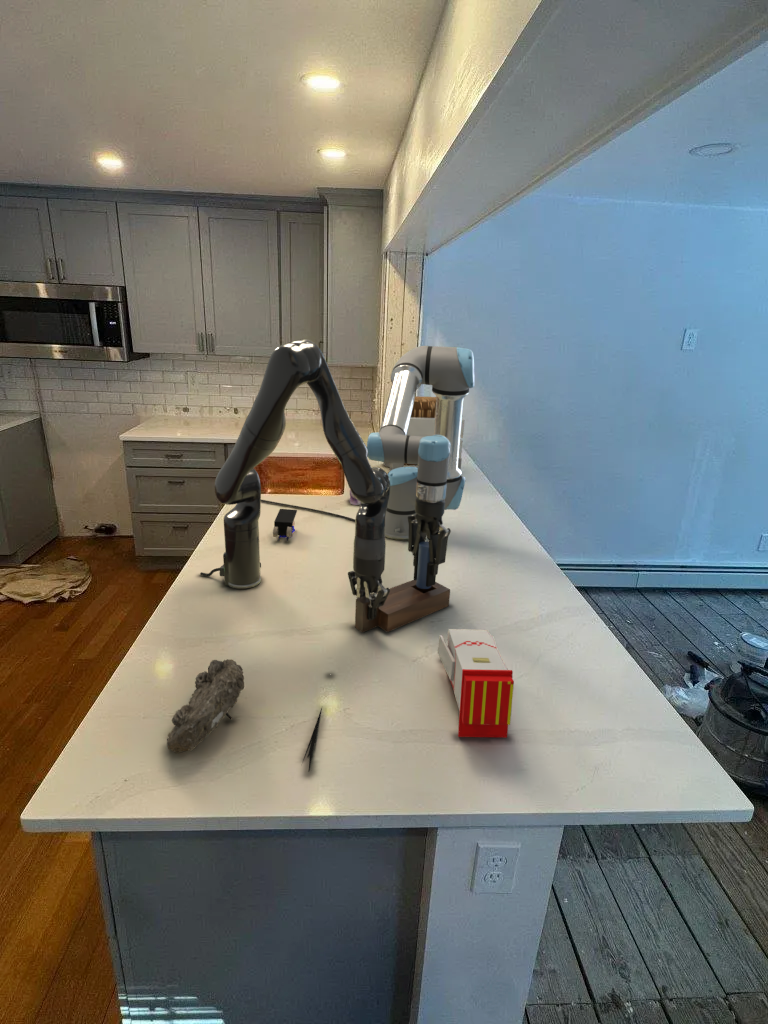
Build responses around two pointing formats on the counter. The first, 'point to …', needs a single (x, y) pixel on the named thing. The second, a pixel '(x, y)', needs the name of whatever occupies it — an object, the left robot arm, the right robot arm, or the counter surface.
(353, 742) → the counter surface
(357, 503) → the figurine
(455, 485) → the right robot arm
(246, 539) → the left robot arm
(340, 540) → the counter surface
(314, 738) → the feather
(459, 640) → the toy
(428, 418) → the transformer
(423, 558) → the peg
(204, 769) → the counter surface
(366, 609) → the peg block
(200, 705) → the fossil
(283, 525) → the figurine character
